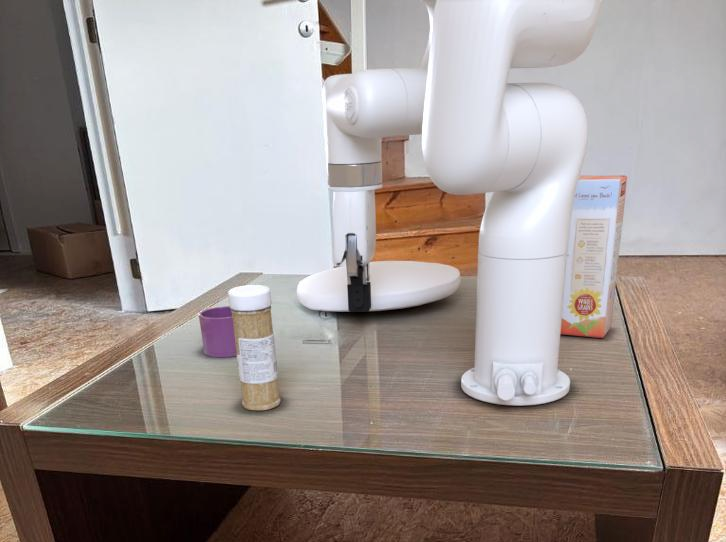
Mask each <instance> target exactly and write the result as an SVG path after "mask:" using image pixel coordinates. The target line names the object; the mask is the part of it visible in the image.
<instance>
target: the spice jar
mask: <svg viewBox="0 0 726 542" xmlns="http://www.w3.org/2000/svg"><path fill="white" fill-rule="evenodd" d="M271 294H272V293H271V289H270V287H268V286H267V285H264V284H263V285H262V284H247V285H245V284H244V285H240V286H235V287H232V288H231V289H229V290H228V291H227V297H228V306H230V308H231V312H232V317H233V325H234V334H235V342H236V351H237V356H236V363H237V370H238V378H239V379H238V380H239V381H240V391H241V399H242V400H241V405H242V407H243V408H245V409H246V410H249V411H260V412H261V411H268V410H272V409H274V408H276V407H278V406H279V405H280V404H281V400H282V399H281V396H280V390H279V382H278V381H279V380H278V376H279V373H278V363H277V353H276V344H275V343H276V342H275V333H274V329H273V320H272V319H273V318H272V311H271V310H272V304H273V303H272V301H273V300H272V295H271Z"/></svg>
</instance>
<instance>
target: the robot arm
mask: <svg viewBox="0 0 726 542" xmlns="http://www.w3.org/2000/svg"><path fill="white" fill-rule="evenodd" d="M418 1H419V2H421V3H423V4H424V5H425V7H426V9H427V12H428V17H429V18H428V19H429V32H428V33H429V34H428V39H427V43H426V47H425V51H424V53H423V57H422V60H421V63H420V65H419V67H388V68H369V69H368V68H367V69H362V70H358V71H355V72H353V73H342V74H341V73H339V74H334V75H329V76H328V77H327V78H326V79H325V80H324V82H323V85H322V103H323V121H324V122H323V123H324V124H323V125H324V139H325V140H324V141H325V157H326V158H325V159H326V175H327V190H328V191H331V192H333V197H332V198H333V200H332V251H333V253H332V254H333V255H332V256H333V257H332V258H333V259H332V260H333V264H334V265H335V266H336V267H341V265H342V264H343V262H344V261H345V266H346V268H347V281H348V284H347V290H348V310H349V311H350V312H349V313H351V312H352V313H368V312H370V311H369V310H370V308H371V283H370V282H367V281H369V280H370V263H369V262H371V260H373V258H374V256H375V254H376V251H377V249H376V247H377V217H376V194H375V190H379V189H382V188H383V162H382V160H383V157H382V152H383V151H382V139H383V138H392V137H401V136H403V137H404V136H416V135H417V136H418V135H421V151H422V158H423V164H424V167H425V170H426V173H427V176H429V179H430V180H431V181H432V183H433V184H434V185H435V187H437V188H438V189H439V190H440V191H442V192H444V193H447V194H450V195H454V196H467V195H468V196H470V195H479V194H480V195H481V194H487V193H491V195H490V198H489V199H488V202H487V205H486V207H485V210H484V212H483V216H482V218H481V222H480V227H479V234H478V248H477V275H476V276H477V278H476V279H477V280H476V304H475V305H476V307H475V309H476V310H475V311H476V312H475V342H474V367H472V368H469V369H467V370H466V371H465V372H464V373H463V374H462V376H461V377H460V388H461V390H462V391H463V392H464V393H465V394H466V395H468V396H469V397H471V398H473V399H475V400H478V401H480V402H484V403H489V404H493V405H501V406H513V407H517V406H518V407H520V406H521V407H522V406H523V407H524V406H537V405H543V404H548V403H552V402H555V401H558V400H560V399H562V398H563V397H565V396H567V394H568V393H569V392H570V389H571V378H570V377H569V376H568V375H567V374H566V373H565V372H563V371H561V370H560V369H559V368H558V367H559V357H560V356H559V355H560V354H559V353H560V344H561V343H560V342H561V334H560V333H561V321H562V310H563V298H564V286H565V275H566V263H567V252H568V245H569V234H570V225H571V216H572V209H573V202H574V197H575V192H576V187H577V183H578V179H579V176H581V172H582V169H583V165H584V160H585V156H586V153H587V147H588V140H589V123H588V117H587V114H586V111H585V108H584V107H583V104H582V103H581V101H580V100H579V99H578V97H577V96H576V95H575V94H574V93H572V91H570V90H568V89H567V88H565V87H563V86H561V85H557V84H554V83H550V82H549V83H548V82H510V83H508V79H509V75H510V70H511V69H542V68H543V69H545V68H554V67H559V66H564V65H567V64H569V63H572V62H573V61H575V60H577V59H578V58H579V57H580V56H582V54H584V52H585V51H586V50H587V49H588V47H589V45H590V43H591V41H592V38H593V36H594V34H595V31H596V27H597V25H598V20H599V16H600V12H601V7H602V2H603V0H418Z"/></svg>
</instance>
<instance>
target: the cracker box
mask: <svg viewBox="0 0 726 542" xmlns="http://www.w3.org/2000/svg"><path fill="white" fill-rule="evenodd" d="M627 185H628V176H627V175H626V174H621V175H619V174H618V175H580V176H579V179H578V183H577V187H576V192H575V197H574V202H573V209H572V216H571V225H570V234H569V245H568V252H567V263H566V275H565V286H564V298H563V310H562V321H561V333H560V335H564V336H566V335H567V336H575V337H576V336H577V337H585V338H586V337H587V338H597V339H599V338H600V339H604V337H605V336H606V335H607V333H608V332H609V331H610V329H612V323H613V312H614V303H615V295H616V288H617V287H616V285H617V279H618V278H617V277H618V268H619V258H620V249H621V239H622V231H623V223H624V214H625V205H626V204H625V203H626V196H627V195H626V193H627Z"/></svg>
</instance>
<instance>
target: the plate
mask: <svg viewBox="0 0 726 542" xmlns="http://www.w3.org/2000/svg"><path fill="white" fill-rule="evenodd" d="M369 263H370V280H369V281H367V282H370V283H371V308H370V310H369V311H368V312H381V311H390V310H399V309H407V308H412V307H418V306H422V305H425V304H429V303H433V302H436V301H440V300H444V299H446V298H447V297H450V296H451V295H453V294H454V293H455V292H456V291H458V289H459V287H460V284H461V281H462V279H461V272H460V270H459V269H458V268H456V267H455V266H452V265H450V264H444V263H439V262H428V261H415V260H380V261H379V260H377V261H370V262H369ZM347 284H348V281H347V268H346V265H342V266H341V265H340V266H336V267H333V268H329V269H325V270H321V271H319V272H316V273H313V274H311V275H308V276H306V277H305V278H303V279H302V280H300V281H299V283H298V285H297V286H296V287H297V288H296V295H297V299H298V302H299V303H300V304H301V305H302V306H304V307H306V308H307V309H309V310H313V311H323V312H341V313H343V312H344V313H345V312H349V313H351V312H350V311H349V310H348V290H347Z"/></svg>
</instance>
